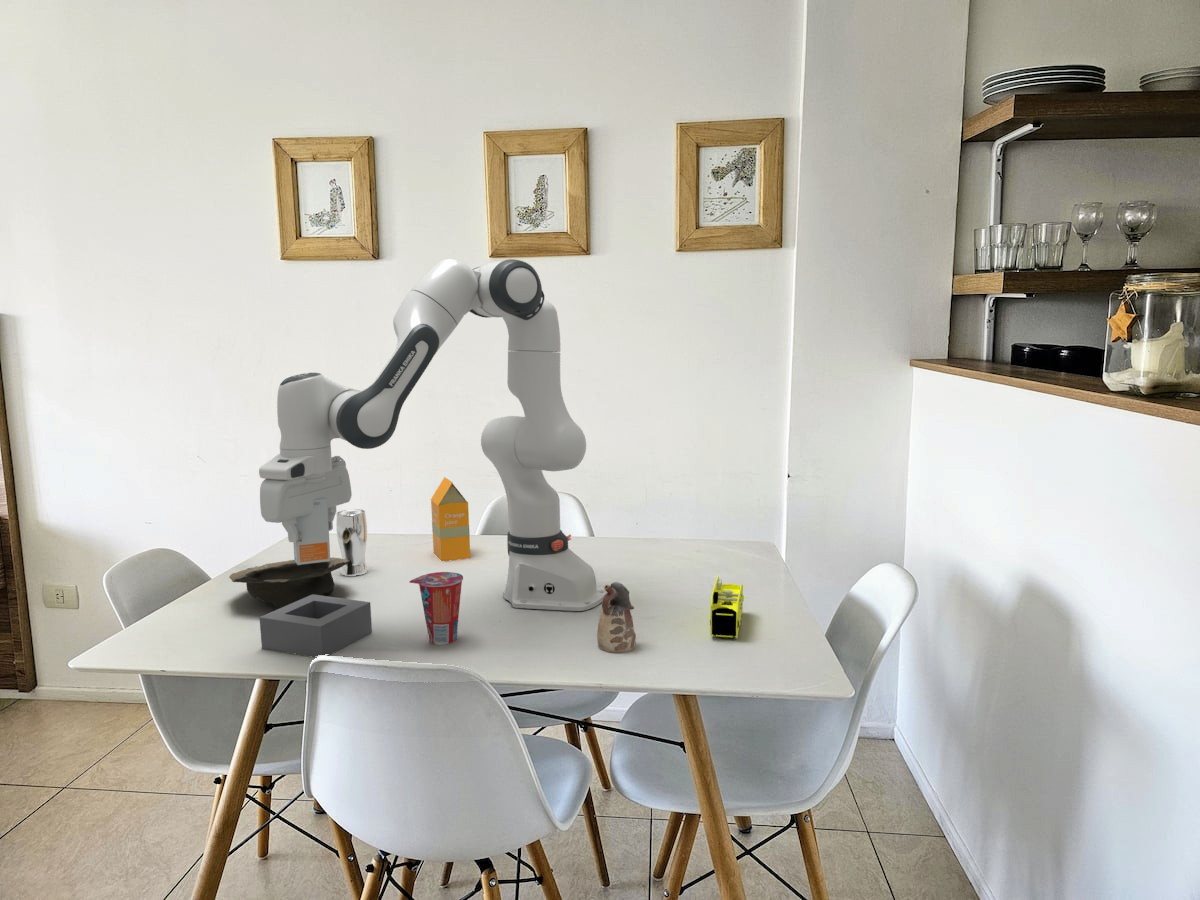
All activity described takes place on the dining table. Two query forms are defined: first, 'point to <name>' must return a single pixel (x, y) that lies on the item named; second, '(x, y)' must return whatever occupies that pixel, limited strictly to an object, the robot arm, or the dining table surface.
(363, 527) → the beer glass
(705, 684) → the dining table surface
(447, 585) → the cup
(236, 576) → the stone bowl
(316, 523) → the skincare box
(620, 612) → the figurine
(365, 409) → the robot arm
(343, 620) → the mount block
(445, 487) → the orange juice
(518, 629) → the dining table surface
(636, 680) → the dining table surface
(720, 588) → the yellow toy chassis
